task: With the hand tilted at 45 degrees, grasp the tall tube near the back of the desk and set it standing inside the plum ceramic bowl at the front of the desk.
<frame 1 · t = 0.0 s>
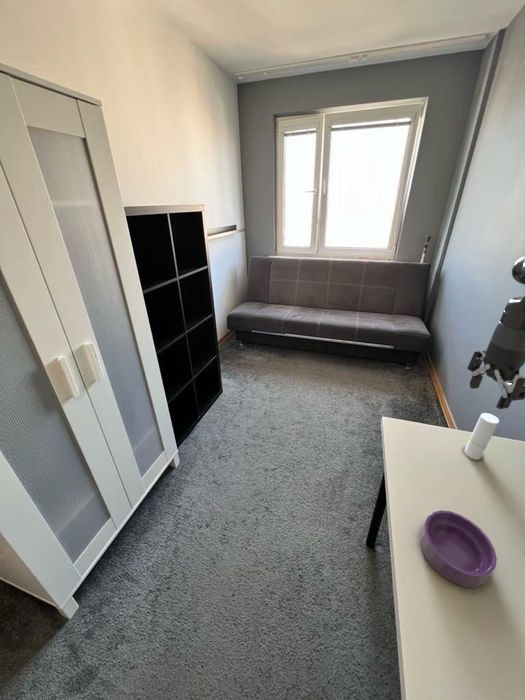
hand: (486, 397, 73), 25 cm above the table, tool pointing down, fingers open, 8 cm apart
bowl: (451, 553, 64), on the table
tube: (472, 454, 87), on the table
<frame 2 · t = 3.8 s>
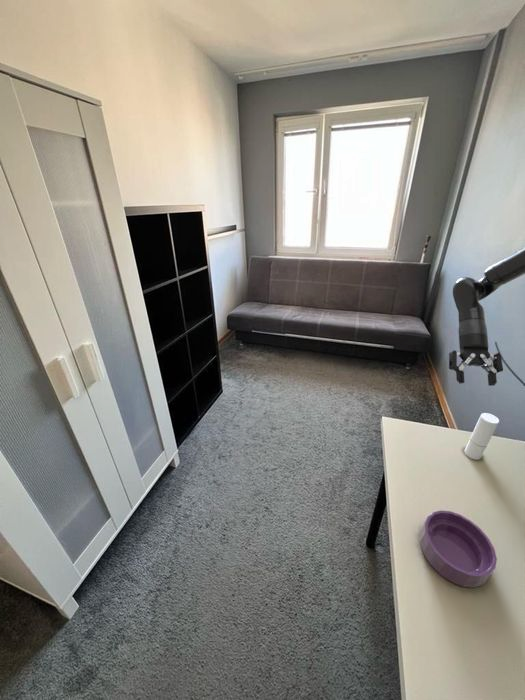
hand: (476, 384, 88), 19 cm above the table, tool tilted 45°, fingers open, 8 cm apart
nothing on the table moved.
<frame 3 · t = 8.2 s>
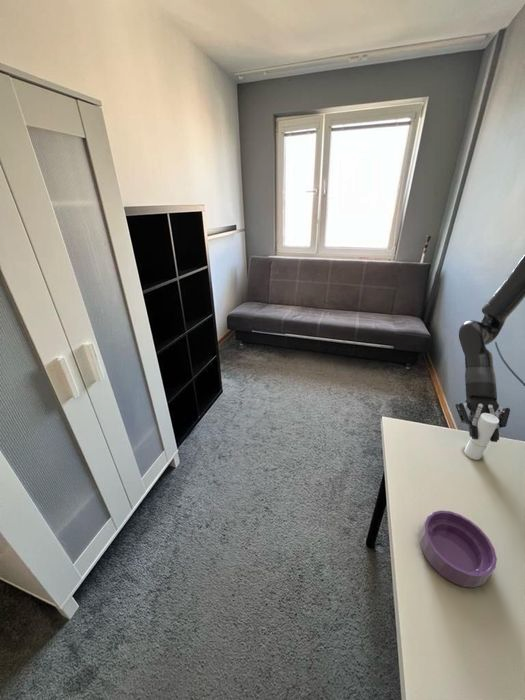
hand: (484, 440, 82), 8 cm above the table, tool tilted 45°, fingers closed on tube, 4 cm apart
tube: (472, 454, 87), on the table, touching gripper
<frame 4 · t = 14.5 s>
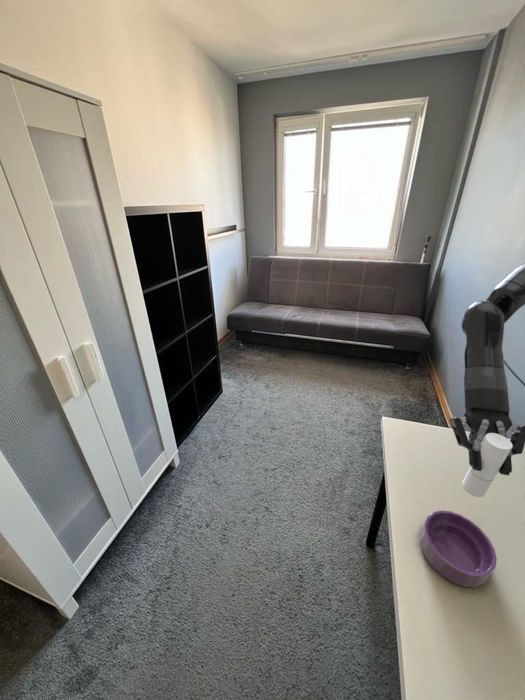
hand: (490, 472, 57), 22 cm above the table, tool tilted 45°, fingers closed on tube, 4 cm apart
tube: (473, 488, 63), point 14 cm above the table, touching gripper
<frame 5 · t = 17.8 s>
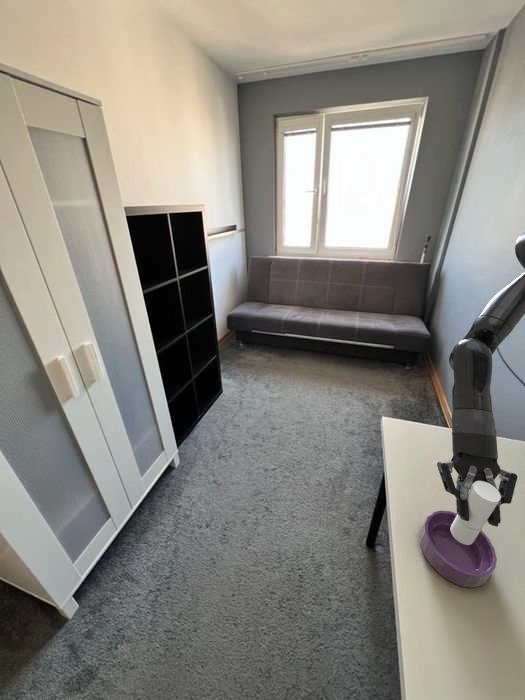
hand: (478, 521, 55), 16 cm above the table, tool tilted 45°, fingers closed on tube, 4 cm apart
tube: (461, 534, 60), point 7 cm above the table, touching gripper
when the fingers open (9 cm above the table, at t = 20.6 s): tube stays where it is, resting on bowl.
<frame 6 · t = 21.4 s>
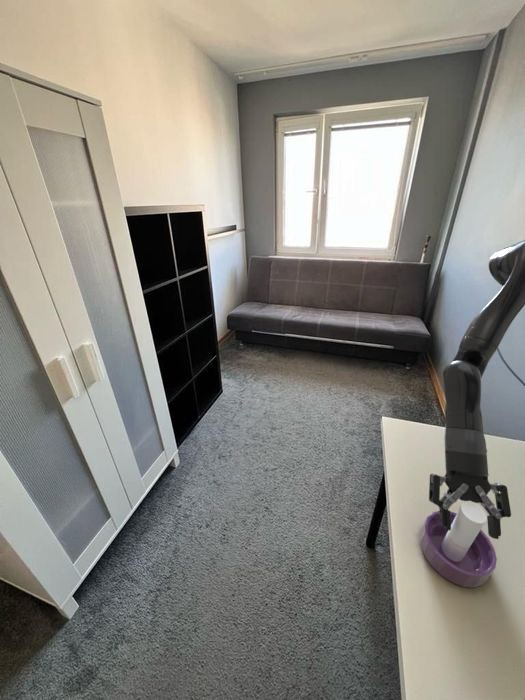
hand: (469, 533, 57), 11 cm above the table, tool tilted 45°, fingers open, 8 cm apart
tube: (451, 551, 64), resting on bowl
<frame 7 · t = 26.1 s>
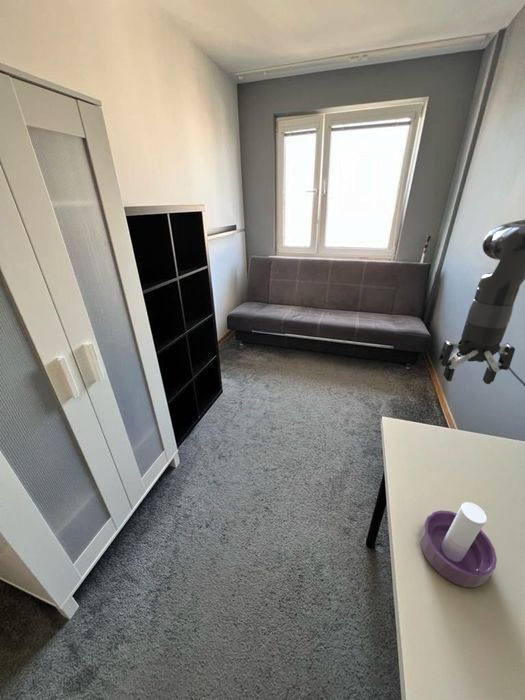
hand: (466, 381, 70), 31 cm above the table, tool pointing down, fingers open, 8 cm apart
nothing on the table moved.
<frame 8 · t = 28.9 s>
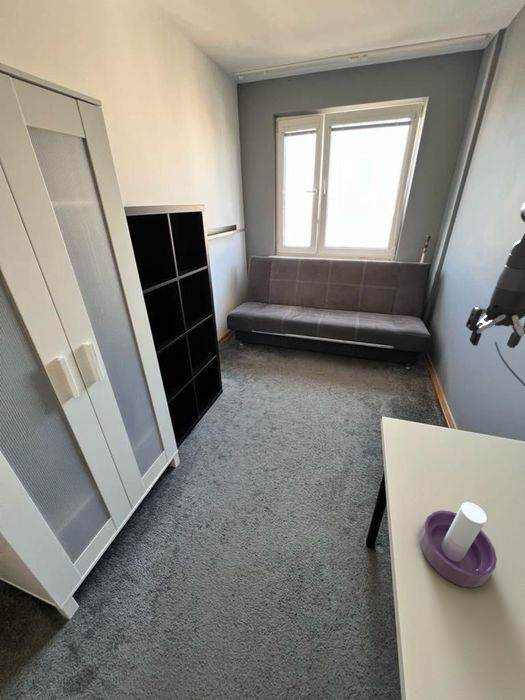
hand: (491, 345, 74), 36 cm above the table, tool pointing down, fingers open, 8 cm apart
nothing on the table moved.
at the end: tube inside the target area in the bowl (0.1 cm from its centre), point 0.4 cm above the bowl's base; tube tilted 0°; the gripper is holding nothing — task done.
